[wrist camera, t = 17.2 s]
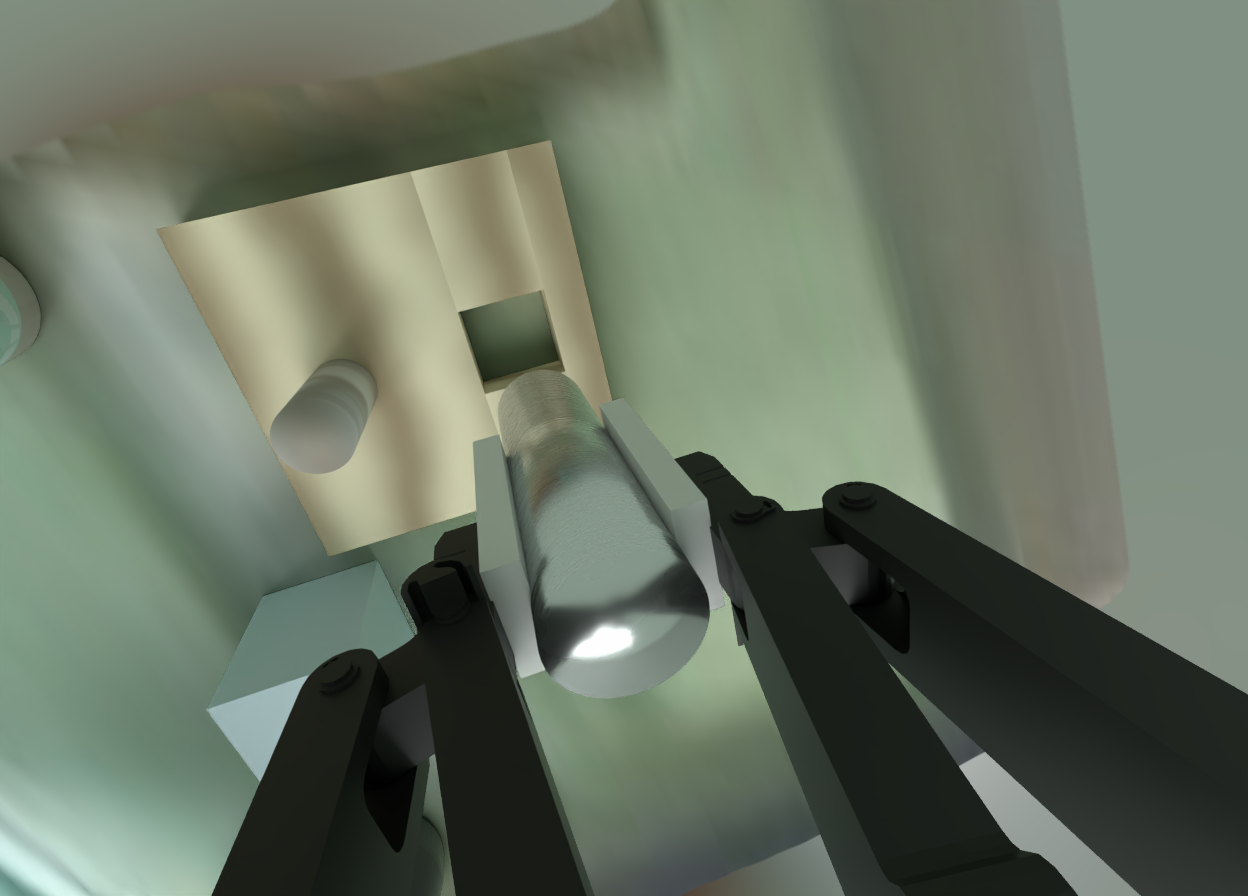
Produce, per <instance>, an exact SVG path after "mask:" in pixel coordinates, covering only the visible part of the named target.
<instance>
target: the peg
mask: <svg viewBox="0 0 1248 896" xmlns="http://www.w3.org/2000/svg"><path fill="white" fill-rule="evenodd" d="M498 421H499V427H500V433H501V438H502V444H503V448H504V451H505V454H506V457H507V463H508V468H509V474H510V479H511V485H512V491H513V496H514V502H515V507H516V513H517V518H518V524H519V529H520V535H521V541H522V546H523V552H524V557H525V563H526V568H527V574H528V579H529V585H530V590H531V593H530V605H531V613H532V619H533V624H534V630H535V636H536V642H537V648H538V652H539V656H540V660H541V662H542V664H543V666H544V668H545V669H546V671H547V672H548V674H549V675H550V676H551V677H552V678H553V679H554V680H555V681H556V682H557V683H559V684H560V685H561V686H563V687H564V688H566V689H568V690H570V691H572V692H574V693H577V694H580V695H583V696H588V697H594V698H618V697H625V696H630V695H634V694H637V693H640V692H643V691H646V690H648V689H650V688H653V687H655V686H657V685H659V684H660V683H662V682H664V681H665V680H667V679H668V678H670V677H671V676H673V675H674V674H675V673H676V672H678V671H679V670H680V669H681V668H682V667H683V666H684V665H685V664H686V663H687V662H688V661H689V660H690V659H691V657H692V656H693V655H694V654H695V652H696V651H697V649H698V648H699V646H700V644H701V642H702V640H703V638H704V636H705V633H706V630H707V627H708V623H709V617H710V605H709V598H708V595H707V591H706V589H705V587H704V585H703V583H702V581H701V580H700V578H699V576H698V575H697V573H696V572H695V570H694V568H693V567H692V565H691V564H690V562H689V561H688V559H687V557H686V556H685V554H684V553H683V551H682V549H681V548H680V547H679V545H678V544H677V542H676V540H675V539H674V537H673V536H672V534H671V533H670V531H669V529H668V528H667V526H666V525H665V523H664V521H663V520H662V518H661V517H660V515H659V514H658V512H657V510H656V509H655V507H654V506H653V504H652V502H651V501H650V499H649V498H648V496H647V495H646V493H645V491H644V490H643V488H642V487H641V485H640V483H639V482H638V480H637V479H636V477H635V476H634V474H633V472H632V471H631V469H630V468H629V466H628V464H627V463H626V461H625V460H624V458H623V456H622V455H621V453H620V452H619V450H618V449H617V447H616V445H615V444H614V442H613V441H612V439H611V437H610V436H609V434H608V433H607V431H606V430H605V428H604V426H603V424H602V423H601V421H600V420H599V418H598V417H597V415H596V413H595V412H594V410H593V409H592V407H591V405H590V404H589V402H588V401H587V399H586V398H585V396H584V394H583V393H582V391H581V390H580V388H579V387H578V385H577V384H576V383H575V382H574V381H573V380H572V379H570V378H569V377H567V376H566V375H564V374H562V373H560V372H556V371H552V370H535V371H530V372H527V373H525V374H523V375H521V376H519V377H517V378H516V379H515V380H513V381H512V382H511V383H510V384H509V385H508V386H507V388H506V389H505V391H504V392H503V394H502V396H501V398H500V401H499V405H498Z"/></svg>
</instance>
